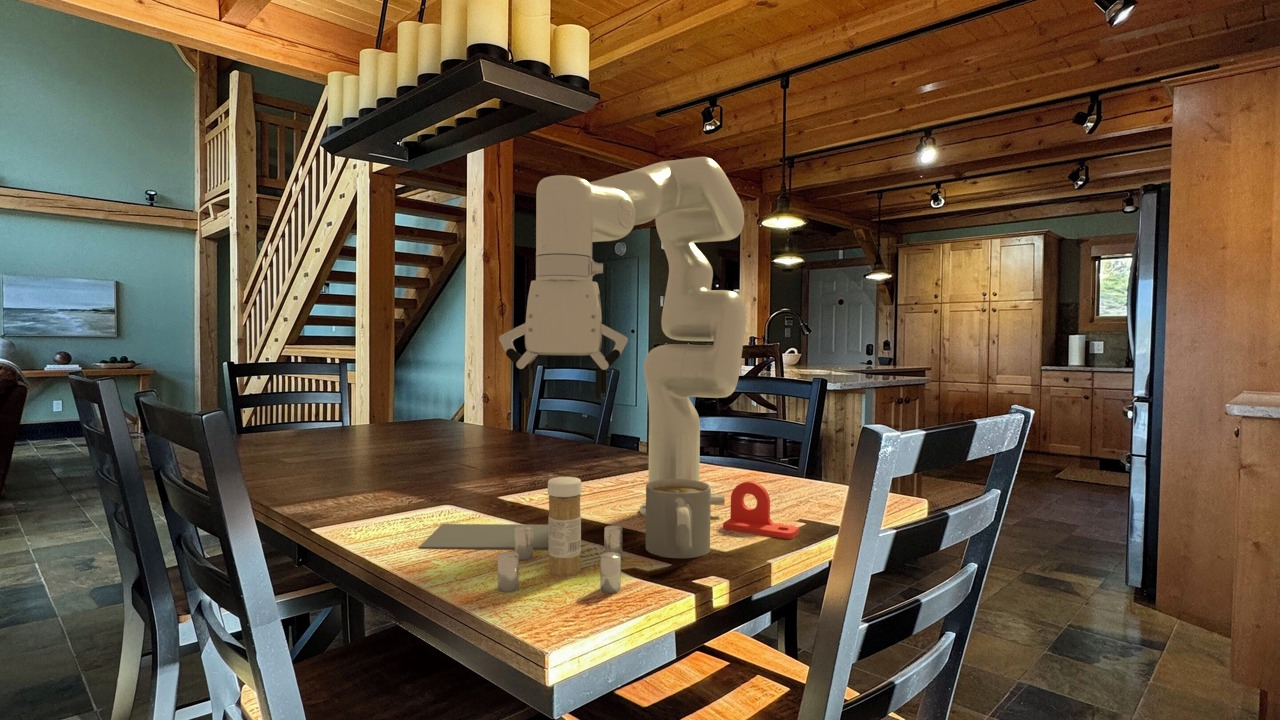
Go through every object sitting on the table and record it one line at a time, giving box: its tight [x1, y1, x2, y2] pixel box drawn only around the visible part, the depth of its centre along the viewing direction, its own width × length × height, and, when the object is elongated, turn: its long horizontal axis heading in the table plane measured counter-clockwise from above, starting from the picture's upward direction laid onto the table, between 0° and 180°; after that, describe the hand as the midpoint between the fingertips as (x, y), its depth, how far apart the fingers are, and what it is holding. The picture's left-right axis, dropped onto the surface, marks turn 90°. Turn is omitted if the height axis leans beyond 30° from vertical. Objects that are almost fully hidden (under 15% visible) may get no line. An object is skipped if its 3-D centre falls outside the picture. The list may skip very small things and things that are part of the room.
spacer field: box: [497, 524, 623, 594], centre depth 90 cm, size 16×16×5 cm
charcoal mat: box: [418, 523, 548, 551], centre depth 105 cm, size 20×12×1 cm, turn 91°
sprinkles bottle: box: [547, 476, 582, 579], centre depth 89 cm, size 5×5×13 cm
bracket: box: [722, 480, 800, 540], centre depth 111 cm, size 12×4×8 cm, turn 60°
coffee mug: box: [645, 479, 712, 559], centre depth 99 cm, size 13×10×10 cm
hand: (563, 398), depth 89 cm, fingers open, 9 cm apart
